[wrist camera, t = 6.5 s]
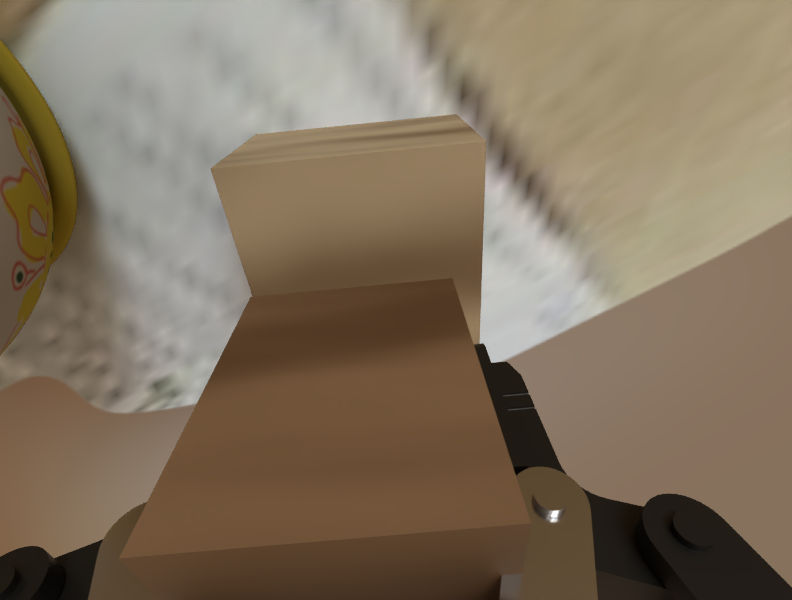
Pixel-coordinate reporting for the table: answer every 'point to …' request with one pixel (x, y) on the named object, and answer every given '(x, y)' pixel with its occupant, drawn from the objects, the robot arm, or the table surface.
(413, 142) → the oak box
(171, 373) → the table surface
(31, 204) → the flowerpot
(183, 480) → the walnut block
